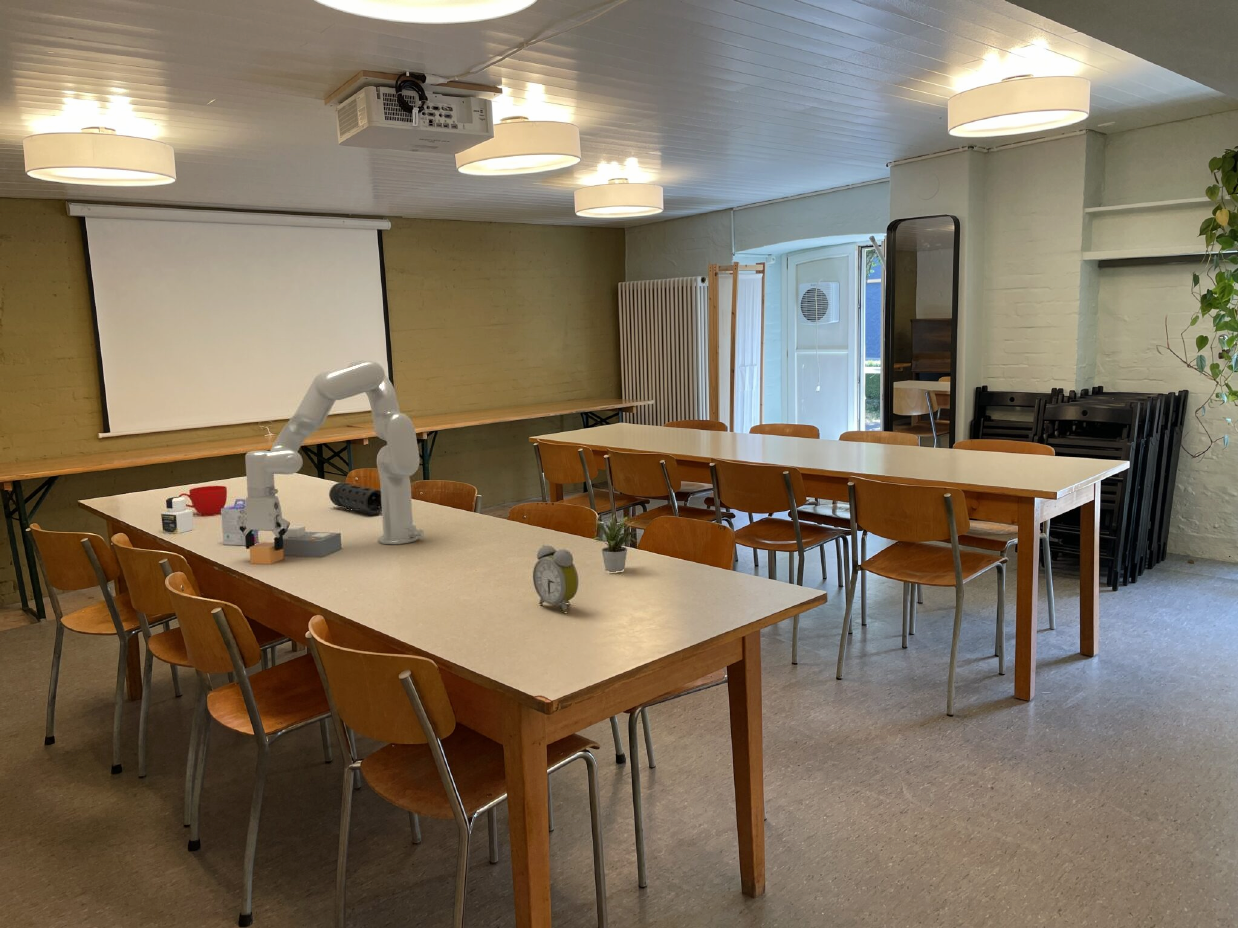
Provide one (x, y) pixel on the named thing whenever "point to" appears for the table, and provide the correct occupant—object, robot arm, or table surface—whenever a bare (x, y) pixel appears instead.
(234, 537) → the ink cartridge box
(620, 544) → the house plant
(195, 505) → the ceramic cup
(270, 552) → the cap
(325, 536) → the block
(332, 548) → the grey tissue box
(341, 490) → the muzzle brake
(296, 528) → the white cube
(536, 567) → the alarm clock
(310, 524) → the table surface
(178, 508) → the medicine bottle
